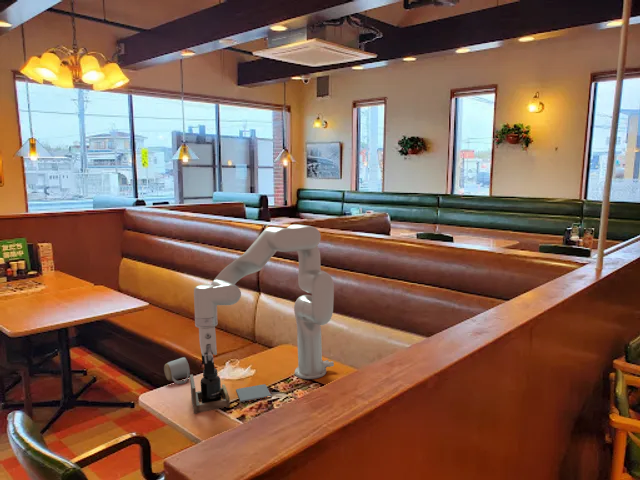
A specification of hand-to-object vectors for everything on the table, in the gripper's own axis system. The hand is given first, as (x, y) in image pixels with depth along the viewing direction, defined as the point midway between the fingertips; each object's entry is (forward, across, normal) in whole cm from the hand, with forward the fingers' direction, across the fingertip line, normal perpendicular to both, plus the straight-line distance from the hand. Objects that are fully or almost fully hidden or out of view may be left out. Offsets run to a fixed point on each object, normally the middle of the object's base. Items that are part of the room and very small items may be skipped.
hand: (208, 368), depth 164 cm
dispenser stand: (+13, 0, -1) cm, 13 cm away
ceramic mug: (+13, +26, +9) cm, 30 cm away
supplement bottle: (+13, 0, -1) cm, 13 cm away
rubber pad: (+12, +1, -16) cm, 20 cm away
